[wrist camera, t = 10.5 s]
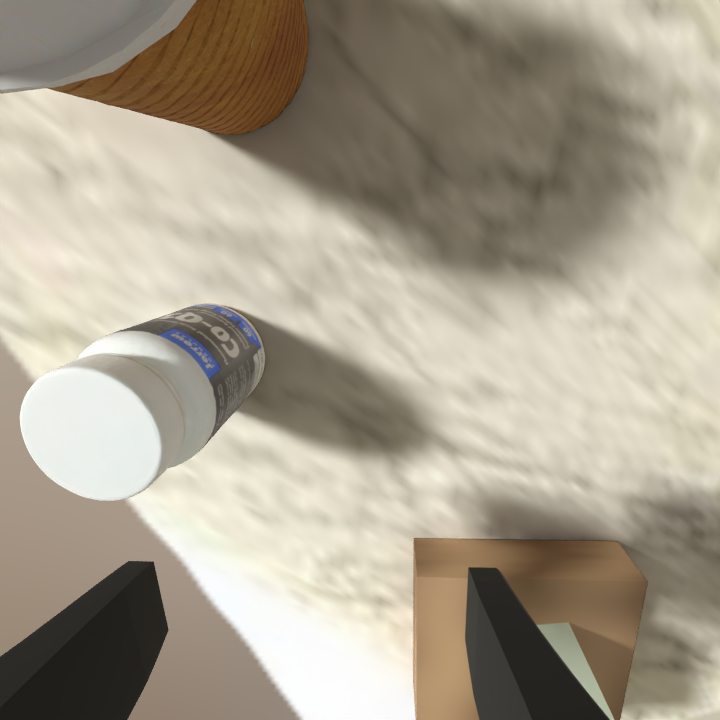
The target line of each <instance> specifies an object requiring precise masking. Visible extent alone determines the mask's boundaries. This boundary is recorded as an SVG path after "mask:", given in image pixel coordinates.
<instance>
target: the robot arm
mask: <svg viewBox="0 0 720 720" xmlns="http://www.w3.org/2000/svg"><path fill="white" fill-rule="evenodd" d="M167 632H168V626H167V621H166V617H165V612H164V608H163V603H162V599H161V594H160V589H159V585H158V580H157V575H156V571H155V566H154V562H143V561H128V562H127V563H125V564H124V565H122V566H121V567H120V568H118V569H117V570H115V571H114V572H113V573H111V574H110V575H109V576H107V577H106V578H105V579H103V580H102V581H101V582H99V583H98V584H97V585H95V586H94V587H93V588H91V589H90V590H89V591H88V592H86V593H85V594H84V595H82V596H81V597H80V598H78V599H77V600H76V601H74V602H73V603H72V604H71V605H69V606H68V607H67V608H66V609H64V610H63V611H61V612H60V613H59V614H57V615H56V616H55V617H53V618H52V619H51V620H49V621H48V622H47V623H45V624H44V625H43V626H41V627H40V628H39V629H38V630H36V631H35V632H33V633H32V634H31V635H29V636H28V637H27V638H25V639H24V640H23V641H22V642H20V643H19V644H17V645H16V646H14V647H13V648H12V649H10V650H9V651H8V652H6V653H5V654H4V655H2V656H1V657H0V720H127V719H128V717H129V715H130V714H131V712H132V710H133V708H134V706H135V704H136V702H137V700H138V698H139V697H140V695H141V693H142V691H143V689H144V687H145V685H146V683H147V681H148V679H149V676H150V674H151V672H152V669H153V667H154V665H155V662H156V660H157V658H158V655H159V652H160V650H161V647H162V645H163V642H164V640H165V637H166V635H167ZM465 643H466V650H467V657H468V663H469V670H470V677H471V683H472V689H473V695H474V699H475V704H476V708H477V712H478V716H479V720H610V719H609V718H608V716H607V715H606V714H605V713H604V712H603V710H602V709H601V708H600V707H599V706H598V704H597V703H596V702H595V701H594V699H593V698H592V697H591V696H590V695H589V693H588V692H587V691H586V690H585V688H584V687H583V686H582V685H581V683H580V682H579V681H578V680H577V678H576V677H575V676H574V675H573V673H572V672H571V671H570V669H569V668H568V667H567V665H566V664H565V663H564V661H563V660H562V659H561V657H560V656H559V655H558V653H557V652H556V651H555V649H554V648H553V647H552V646H551V644H550V643H549V642H548V640H547V639H546V637H545V636H544V635H543V633H542V632H541V631H540V629H539V628H538V626H537V625H536V624H535V622H534V621H533V619H532V618H531V616H530V615H529V614H528V612H527V611H526V609H525V608H524V606H523V605H522V603H521V602H520V600H519V599H518V597H517V596H516V594H515V593H514V591H513V590H512V588H511V587H510V585H509V584H508V582H507V581H506V579H505V577H504V576H503V574H502V573H501V572H500V571H499V570H498V569H497V568H483V567H468V584H467V605H466V626H465Z"/></svg>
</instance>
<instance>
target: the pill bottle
mask: <svg viewBox="0 0 720 720" xmlns="http://www.w3.org/2000/svg"><path fill="white" fill-rule="evenodd" d="M264 366H265V352H264V347H263V343H262V340H261V338H260V336H259V334H258V332H257V331H256V329H255V328H254V326H253V325H252V324H251V323H250V322H249V321H248V320H247V319H246V318H245V317H244V316H242V315H241V314H239V313H238V312H236V311H234V310H232V309H230V308H228V307H225V306H221V305H218V304H198V305H194V306H191V307H188V308H184V309H182V310H179V311H176V312H174V313H171V314H168V315H165V316H162V317H159V318H156V319H153V320H150V321H148V322H145V323H142V324H139V325H136V326H133V327H130V328H127V329H124V330H120V331H117V332H114V333H112V334H109V335H107V336H105V337H103V338H100V339H99V340H97V341H96V342H94V343H92V344H91V345H90V346H89V347H87V348H86V349H85V350H84V351H83V352H82V353H81V354H80V356H79V357H78V358H77V359H76V360H74V361H72V362H71V363H68V364H66V365H64V366H61V367H59V368H57V369H55V370H53V371H50V372H48V373H47V374H45V375H43V376H42V377H41V378H39V379H38V380H37V381H36V382H35V383H34V384H33V385H32V387H31V388H30V389H29V390H28V392H27V394H26V396H25V398H24V401H23V403H22V406H21V412H20V427H21V432H22V435H23V439H24V442H25V444H26V447H27V449H28V451H29V453H30V454H31V456H32V458H33V459H34V461H35V462H36V464H37V465H38V466H39V467H40V469H41V470H42V471H43V472H44V473H45V474H46V475H47V476H48V477H50V478H51V479H52V480H53V481H55V482H56V483H57V484H59V485H60V486H62V487H63V488H65V489H67V490H69V491H71V492H73V493H75V494H77V495H80V496H82V497H86V498H90V499H95V500H102V501H113V500H122V499H126V498H129V497H132V496H134V495H136V494H138V493H140V492H142V491H144V490H145V489H146V488H148V487H149V486H150V485H151V484H152V483H153V482H154V481H155V480H156V479H157V478H158V477H159V476H160V475H161V474H162V473H163V472H164V471H165V470H166V469H167V468H170V467H174V466H177V465H179V464H181V463H183V462H185V461H187V460H188V459H190V458H191V457H193V456H194V455H195V454H197V453H198V452H199V451H200V450H201V449H202V448H203V447H204V446H205V445H206V444H207V442H208V441H209V440H210V439H211V438H212V437H213V436H214V435H215V433H216V432H217V431H218V430H219V429H220V427H221V426H222V425H223V424H224V423H225V422H226V421H227V420H228V418H229V417H230V416H231V415H232V414H233V413H234V412H235V411H236V410H237V408H238V407H239V406H240V405H241V404H242V403H243V402H244V400H245V399H246V398H247V397H248V396H249V395H250V394H251V392H252V391H253V390H254V389H255V387H256V386H257V385H258V383H259V381H260V379H261V377H262V374H263V371H264Z"/></svg>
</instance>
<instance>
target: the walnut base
mask: <svg viewBox="0 0 720 720" xmlns="http://www.w3.org/2000/svg"><path fill="white" fill-rule="evenodd" d="M468 567H483V568H497V569H498V570H499V571H500V572H501V573H502V574H503V576H504V577H505V579H506V581H507V582H508V584H509V585H510V587H511V588H512V590H513V591H514V593H515V594H516V596H517V597H518V599H519V600H520V602H521V603H522V605H523V606H524V608H525V609H526V611H527V612H528V614H529V615H530V616H531V618H532V619H533V621H534V622H535V624H536V625H542V624H554V623H567V622H569V624H570V626H571V628H572V631H573V633H574V635H575V637H576V639H577V641H578V643H579V645H580V648H581V650H582V652H583V654H584V656H585V658H586V660H587V662H588V665H589V667H590V669H591V671H592V673H593V675H594V677H595V679H596V682H597V684H598V686H599V688H600V690H601V692H602V694H603V696H604V698H605V701H606V703H607V705H608V707H609V709H610V711H611V713H612V715H613V718H614V720H620V717H621V712H622V707H623V702H624V697H625V692H626V687H627V682H628V677H629V672H630V668H631V663H632V658H633V653H634V648H635V643H636V638H637V633H638V628H639V623H640V618H641V613H642V608H643V603H644V598H645V593H646V588H647V583H648V581H647V580H646V578H645V577H644V576H643V574H642V573H641V572H640V570H639V569H638V568H637V566H636V565H635V564H634V563H633V561H632V560H631V559H630V557H629V556H628V555H627V553H626V552H625V551H624V549H623V548H622V547H621V545H620V544H619V543H618V541H568V540H492V539H415V538H414V664H413V683H414V700H415V716H416V720H479V716H478V712H477V708H476V704H475V699H474V695H473V689H472V683H471V677H470V670H469V663H468V657H467V650H466V643H465V626H466V605H467V584H468Z"/></svg>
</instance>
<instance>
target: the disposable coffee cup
mask: <svg viewBox="0 0 720 720" xmlns="http://www.w3.org/2000/svg"><path fill="white" fill-rule="evenodd" d="M308 36H309V34H308V27H307V20H306V13H305V7H304V0H0V93H1V94H2V93H10V92H18V91H26V90H34V89H42V88H48V89H52V90H55V91H59V92H63V93H67V94H71V95H74V96H78V97H82V98H86V99H90V100H94V101H98V102H101V103H104V104H107V105H112V106H116V107H120V108H124V109H128V110H132V111H135V112H139V113H143V114H146V115H150V116H154V117H158V118H162V119H166V120H169V121H174V122H178V123H181V124H185V125H189V126H193V127H196V128H200V129H203V130H207V131H210V132H214V133H217V134H228V135H237V134H243V133H249V132H251V131H254V130H256V129H258V128H260V127H263V126H265V125H267V124H268V123H270V122H271V121H273V120H274V119H275V118H277V117H278V116H279V115H280V113H281V112H282V111H283V110H284V109H285V108H286V107H287V105H288V104H289V103H290V102H291V100H292V98H293V97H294V95H295V93H296V91H297V90H298V88H299V86H300V83H301V80H302V78H303V75H304V72H305V67H306V62H307V57H308Z"/></svg>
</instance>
